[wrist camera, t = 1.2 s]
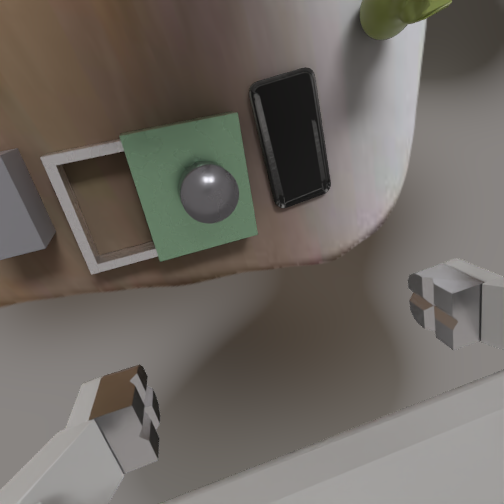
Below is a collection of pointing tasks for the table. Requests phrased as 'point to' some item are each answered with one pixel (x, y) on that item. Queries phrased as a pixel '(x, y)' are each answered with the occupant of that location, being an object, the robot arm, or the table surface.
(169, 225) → the multicoloured piece
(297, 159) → the phone
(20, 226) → the grey rectangular cuboid
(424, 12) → the pear
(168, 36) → the table surface
